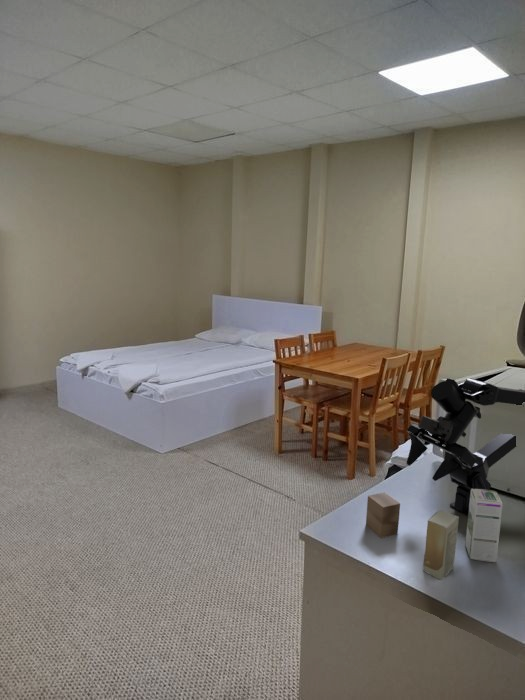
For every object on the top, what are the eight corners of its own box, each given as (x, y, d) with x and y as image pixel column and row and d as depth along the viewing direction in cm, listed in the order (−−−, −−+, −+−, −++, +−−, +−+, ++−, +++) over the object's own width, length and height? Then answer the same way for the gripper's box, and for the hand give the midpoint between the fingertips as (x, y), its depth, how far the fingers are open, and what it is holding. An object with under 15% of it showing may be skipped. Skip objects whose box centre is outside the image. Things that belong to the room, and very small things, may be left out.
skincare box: (434, 559, 109) (440, 508, 106) (454, 567, 106) (460, 516, 103) (421, 571, 104) (426, 519, 102) (441, 581, 101) (447, 527, 99)
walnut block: (382, 521, 124) (384, 492, 122) (397, 533, 118) (400, 503, 117) (365, 525, 122) (367, 495, 120) (380, 538, 116) (383, 507, 115)
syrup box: (497, 563, 108) (504, 502, 105) (468, 559, 109) (475, 499, 106) (490, 548, 113) (497, 490, 111) (463, 544, 114) (470, 487, 112)
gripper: (413, 394, 128) (378, 442, 126) (469, 416, 112) (430, 471, 110) (435, 417, 133) (402, 463, 131) (492, 441, 116) (455, 494, 115)
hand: (420, 472), depth 122 cm, fingers open, 9 cm apart
